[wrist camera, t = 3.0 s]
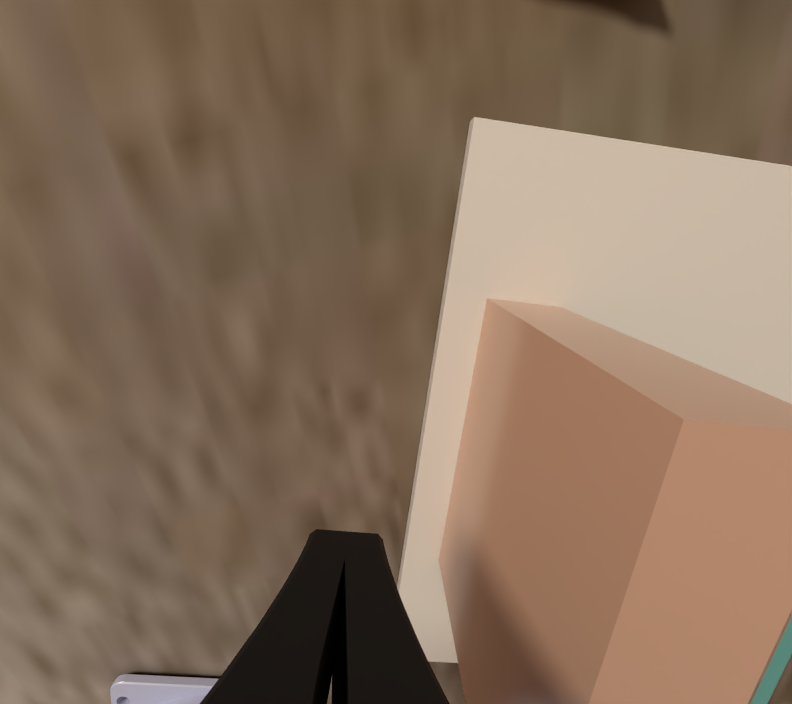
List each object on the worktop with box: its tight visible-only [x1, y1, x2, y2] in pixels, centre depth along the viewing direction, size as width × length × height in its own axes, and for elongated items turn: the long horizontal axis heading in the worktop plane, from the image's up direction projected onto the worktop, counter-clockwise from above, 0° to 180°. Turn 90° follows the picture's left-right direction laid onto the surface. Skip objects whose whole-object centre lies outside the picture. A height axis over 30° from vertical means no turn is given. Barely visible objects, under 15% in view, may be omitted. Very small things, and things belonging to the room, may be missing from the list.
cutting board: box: [397, 117, 792, 663], centre depth 16 cm, size 20×16×1 cm
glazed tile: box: [439, 298, 792, 704], centre depth 11 cm, size 10×3×9 cm, turn 173°
